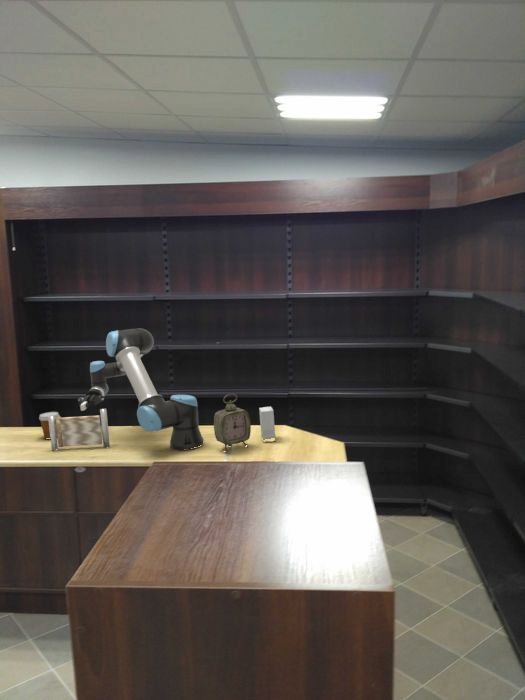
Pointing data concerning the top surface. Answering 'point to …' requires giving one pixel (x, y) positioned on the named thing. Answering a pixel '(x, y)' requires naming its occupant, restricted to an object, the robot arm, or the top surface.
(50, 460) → the top surface
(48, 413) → the disposable coffee cup
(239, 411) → the tabletop clock
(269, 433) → the skincare box
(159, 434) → the top surface
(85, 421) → the gate
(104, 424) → the hinge post
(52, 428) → the post
